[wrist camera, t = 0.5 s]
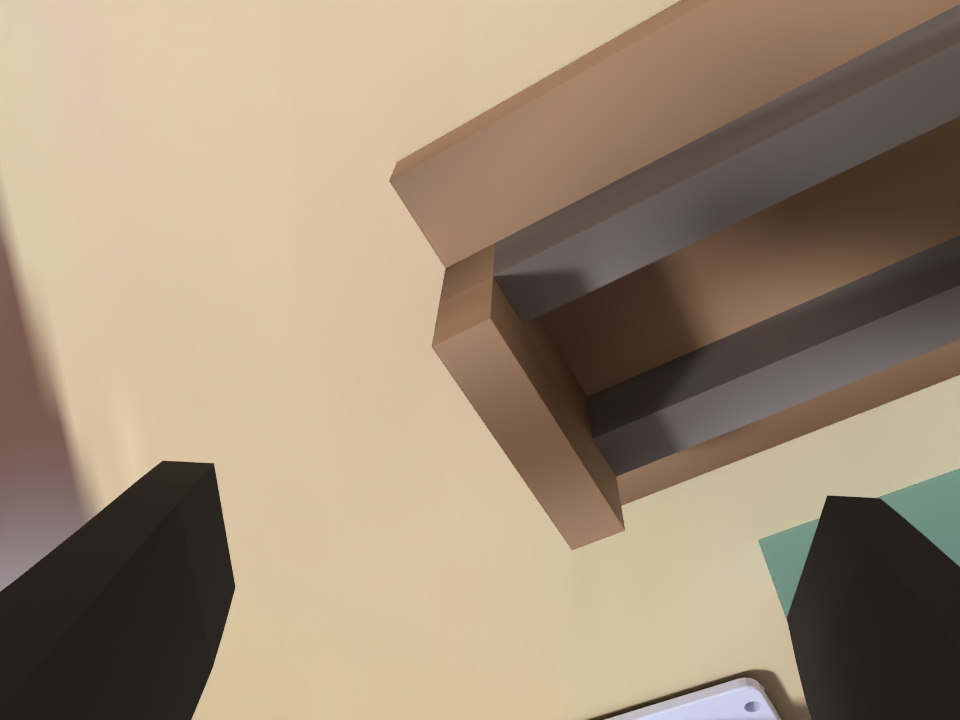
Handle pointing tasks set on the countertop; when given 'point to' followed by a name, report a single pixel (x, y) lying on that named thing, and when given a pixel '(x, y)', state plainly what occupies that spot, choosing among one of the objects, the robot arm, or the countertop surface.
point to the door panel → (927, 506)
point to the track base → (700, 242)
